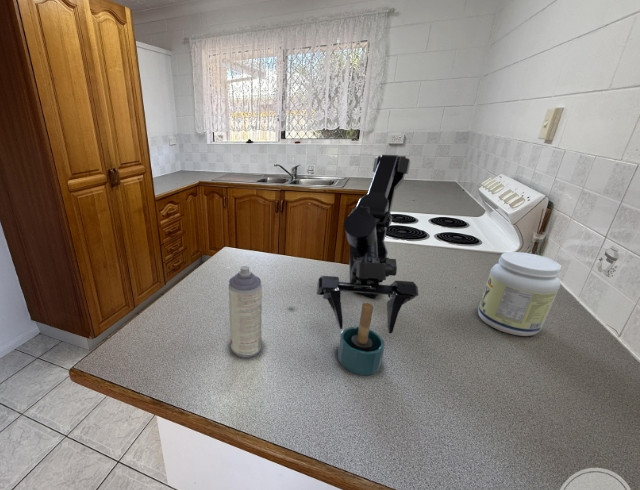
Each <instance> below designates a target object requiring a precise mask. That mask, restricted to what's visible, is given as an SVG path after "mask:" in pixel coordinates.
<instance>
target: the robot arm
mask: <svg viewBox="0 0 640 490" xmlns="http://www.w3.org/2000/svg"><path fill="white" fill-rule="evenodd" d="M410 165H411V159H410V158H408V157H407V155H398V154H381V155H378V156H376V157H374V161H373V166H372V172H374V175H373V177H372V180H371V183H370V186H369V189H368V191H367V194H365V195H364V196H362V197H360V198H359V200H358V202H357V204H356V207H353V208H352V210H351V212H350V213H349V215H348V216H347V217H346V218H345V219H344V221H343V228H344V232H345V236H346V240H347V243H348V256H349V257H348V264H349V266H348V269H349V272H348V273H349V282H348V281H347V282H345V281H340V277H339V276H333V275H332V276H331V275H320V276H319V277H318V280H317V283H316V295H318V296H322V299H323V300H327V301H328V303H329V305H330V307H331V309H332V311H333V314H334V316H335V320H336V322H337V325H338V328H339V329H340V330H342V329H343V328H344V327H343V325H344V324H343V323H344V322H343V321H344V319H343V310H342V301H341V295H342V294H341V292H345V293H346V292H347V293H357V294H359V295H362V296H366V297H369V298H372V299H377V298H378V296H379V295H385V296H386V295H387V297H388V299H389V300H388V301H386V316H387V320H386V321H387V323H386V324H387V326H386V327H387V332H388V334H390V335H391V334H393V332H394V328H395V325H396V322H397V320H398V319H397V318H398V315H399V314H400V313H399V312H400V310H401V308H402V306H403V305H405V304H406V303H407V302H410V301H412V300H413V299H415V298H416V297H418V296H419V288H418V285H417V284H416V283H415V282H414V281H407V280H405V281H404V280H394V281H393V282H392V283H391V284H390V285H388V284H382V283H384V282H383V281H386V279H387V277H390V276H394V277H395V276H396V275H397V272H398V267H397V266H398V265H397V259H396V258H389V257H388V254H389V251H388V249H387V246H386V243H385V240H386V239H385V238H386V235H387V230H388V229H389V228H390V226H391V224H392V222H393V216H392V213H391V211H392V207H393V203H394V197H395V192H396V190H397V189H398V188H399V187H400V186H401V185H402V184H403V183H404V181H405V176H406V175H408V174H409V171H410Z"/></svg>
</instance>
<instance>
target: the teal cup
mask: <svg viewBox="0 0 640 490" xmlns="http://www.w3.org/2000/svg"><path fill="white" fill-rule="evenodd" d="M358 329H359V326H350V327H347V328H344V329H343V330H342V331H341V332H340V334H339V343H338V351H337V360H338V363H339V364H340V365H341V367H343V368H344V369H345V370H347V371H349V372H350V373H353V374H355V375H359V376H371V375H374V374H376V373H377V372H379V370H380V368H381V365H382V360H383V355H384V350H385V341H384V339H383V338H382V337H381V335H380V334H378V333H377V332H375V331H374V330H371V329H369V334H368V338H370V339H371V341H372V348H371V352H365V351H360V350H357V349H354V348H352V347H351V340H352V337H353V336H355V335H358Z"/></svg>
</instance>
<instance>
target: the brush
mask: <svg viewBox="0 0 640 490" xmlns="http://www.w3.org/2000/svg"><path fill="white" fill-rule="evenodd" d="M373 311H374V305H373V304H371V303H368V302H364V303H362V304H361V310H360V316H359V317H360V318H359V322H358V323H359V324H358V327H359V329H358V335H355V336H353V337H352V340H351V347H352V348H354V349H357V350H360V351H365V352H371V348H372V341H371V339H370V338H368V334H369V330H371V329H370V328H371V322H372V317H373Z"/></svg>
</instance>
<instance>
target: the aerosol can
mask: <svg viewBox="0 0 640 490" xmlns="http://www.w3.org/2000/svg"><path fill="white" fill-rule="evenodd" d="M262 292H263V286H262V280H261V278H260V277H259V276H257V275H256V274H254V273H253V272H252V271H250V267H249V266H248V265H242V266H240V271H239V272H237V273H236V274H235V275H233V276H232V277H231V278H230V279H229V280H228V307H229V308H228V309H229V330H230V331H229V333H230V350H231V352H232V353H233V355H234V356H236V357H238V358H241V359H242V358H243V359H251V358H254V357H256V356H257V355H259V354H260V352H261V351H262V307H263V306H262V305H263V303H262V302H263V300H262V297H263V296H262V294H263V293H262Z"/></svg>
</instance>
